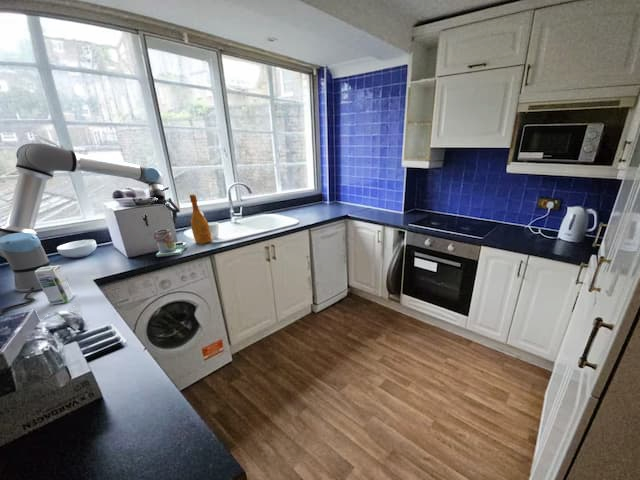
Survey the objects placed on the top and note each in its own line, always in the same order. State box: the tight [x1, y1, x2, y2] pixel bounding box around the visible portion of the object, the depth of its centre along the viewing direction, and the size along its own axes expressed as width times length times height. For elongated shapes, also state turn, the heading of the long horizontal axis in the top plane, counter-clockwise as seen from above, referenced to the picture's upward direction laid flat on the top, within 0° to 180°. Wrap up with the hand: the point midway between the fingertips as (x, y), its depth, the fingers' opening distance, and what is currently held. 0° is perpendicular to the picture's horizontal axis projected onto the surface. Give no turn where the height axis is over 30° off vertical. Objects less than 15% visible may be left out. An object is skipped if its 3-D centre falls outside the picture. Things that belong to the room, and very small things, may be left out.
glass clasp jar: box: [152, 228, 176, 253], centre depth 167 cm, size 9×8×12 cm
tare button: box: [174, 240, 184, 246], centre depth 175 cm, size 4×4×2 cm
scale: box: [155, 242, 187, 258], centre depth 172 cm, size 14×13×3 cm
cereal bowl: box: [56, 239, 98, 259], centre depth 168 cm, size 17×17×7 cm
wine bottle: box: [189, 194, 213, 245], centre depth 182 cm, size 10×10×30 cm
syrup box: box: [34, 264, 74, 306], centre depth 116 cm, size 6×6×14 cm
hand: (161, 223), depth 168 cm, fingers open, 13 cm apart
